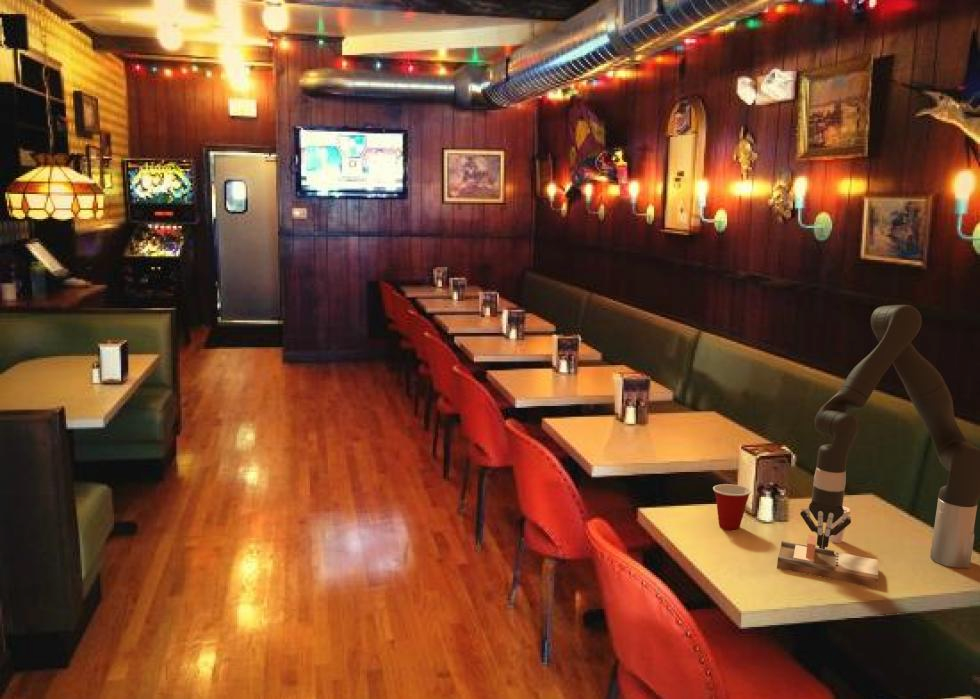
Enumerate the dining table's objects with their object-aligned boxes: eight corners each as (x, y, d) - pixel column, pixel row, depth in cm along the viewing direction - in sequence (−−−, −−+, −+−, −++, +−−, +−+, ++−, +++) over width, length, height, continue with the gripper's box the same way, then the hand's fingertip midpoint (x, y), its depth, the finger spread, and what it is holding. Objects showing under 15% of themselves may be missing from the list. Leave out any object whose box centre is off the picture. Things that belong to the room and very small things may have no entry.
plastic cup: (731, 517, 251) (735, 479, 249) (755, 531, 241) (759, 492, 239) (702, 521, 247) (705, 483, 245) (725, 536, 237) (728, 496, 235)
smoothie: (843, 547, 232) (848, 499, 230) (819, 540, 236) (824, 494, 233) (849, 539, 237) (854, 493, 235) (826, 533, 241) (831, 488, 238)
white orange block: (814, 551, 223) (816, 534, 222) (813, 565, 215) (815, 547, 214) (795, 548, 225) (797, 530, 224) (792, 561, 217) (794, 543, 216)
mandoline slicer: (875, 568, 219) (877, 557, 218) (876, 587, 208) (878, 576, 208) (780, 550, 228) (781, 540, 228) (776, 568, 217) (777, 557, 217)
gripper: (856, 484, 215) (849, 547, 218) (802, 476, 220) (796, 537, 224) (856, 494, 208) (849, 558, 212) (801, 485, 213) (794, 548, 217)
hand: (821, 547), depth 218 cm, fingers closed
